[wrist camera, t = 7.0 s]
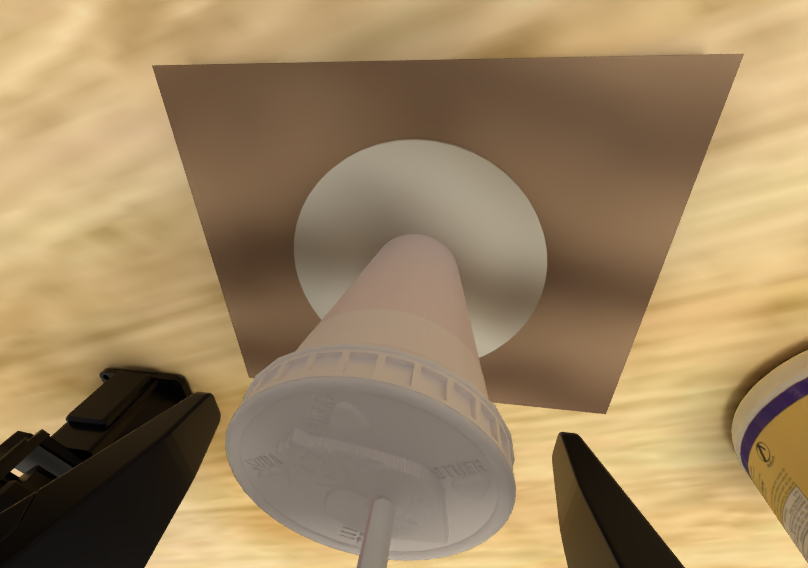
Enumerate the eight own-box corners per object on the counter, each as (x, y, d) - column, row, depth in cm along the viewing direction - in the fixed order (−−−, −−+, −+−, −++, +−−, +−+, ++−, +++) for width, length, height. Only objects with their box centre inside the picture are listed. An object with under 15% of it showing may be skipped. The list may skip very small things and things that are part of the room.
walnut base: (593, 383, 21) (608, 421, 19) (266, 352, 24) (245, 383, 22) (704, 55, 13) (754, 53, 11) (189, 65, 16) (142, 65, 13)
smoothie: (423, 353, 18) (345, 886, 6) (317, 275, 17) (-38, 774, 5) (523, 270, 15) (729, 981, 3) (405, 167, 14) (43, 767, 2)
